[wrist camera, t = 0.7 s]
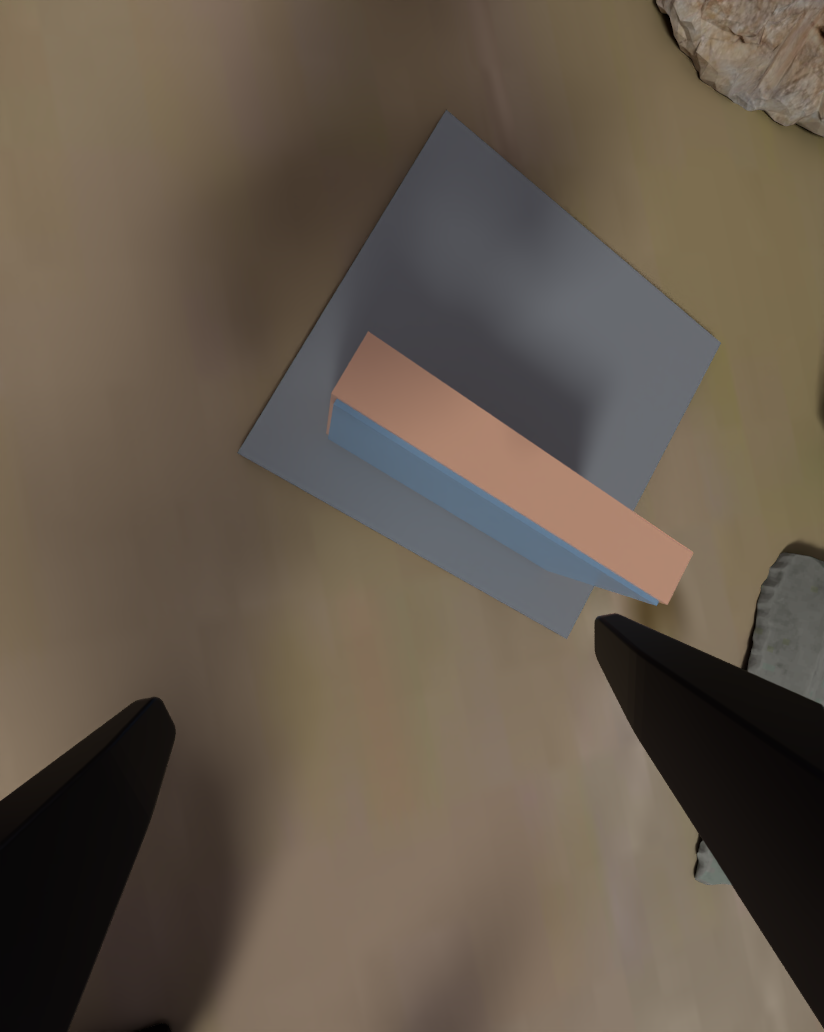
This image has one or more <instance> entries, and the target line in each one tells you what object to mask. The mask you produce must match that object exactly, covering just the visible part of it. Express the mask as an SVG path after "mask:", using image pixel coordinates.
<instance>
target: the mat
mask: <svg viewBox="0 0 824 1032" xmlns="http://www.w3.org/2000/svg"><path fill="white" fill-rule="evenodd" d="M368 331H369V332H370V333H371V334H373V335H374V336H376V337H377V338H379V339H380V340H382V341H383V342H385V343H386V344H388V345H389V346H391V347H392V348H394V349H395V350H397V351H398V352H399V353H401V354H402V355H404V356H405V357H407V358H408V359H410V360H411V361H413V362H414V363H416V364H417V365H419V366H420V367H422V368H423V369H424V370H426V371H427V372H429V373H430V374H432V375H433V376H435V377H436V378H438V379H439V380H441V381H442V382H444V383H445V384H447V385H448V386H449V387H451V388H452V389H454V390H455V391H457V392H458V393H460V394H461V395H463V396H464V397H466V398H467V399H469V400H470V401H472V402H473V403H474V404H476V405H477V406H479V407H480V408H482V409H483V410H485V411H486V412H488V413H489V414H491V415H492V416H494V417H495V418H497V419H498V420H499V421H501V422H502V423H504V424H505V425H507V426H508V427H510V428H511V429H513V430H514V431H516V432H517V433H519V434H520V435H522V436H523V437H524V438H526V439H527V440H529V441H530V442H532V443H533V444H535V445H536V446H538V447H539V448H541V449H542V450H544V451H545V452H547V453H548V454H549V455H551V456H552V457H554V458H555V459H557V460H558V461H560V462H561V463H563V464H564V465H566V466H567V467H569V468H570V469H572V470H573V471H574V472H576V473H577V474H579V475H580V476H582V477H583V478H585V479H586V480H588V481H589V482H591V483H592V484H594V485H595V486H597V487H598V488H599V489H601V490H602V491H604V492H605V493H607V494H608V495H610V496H611V497H613V498H614V499H616V500H617V501H619V502H620V503H622V504H623V505H624V506H626V507H627V508H629V509H630V510H632V511H634V509H635V507H636V505H637V503H638V501H639V499H640V497H641V495H642V494H643V492H644V490H645V488H646V486H647V484H648V482H649V480H650V478H651V476H652V474H653V472H654V470H655V469H656V467H657V465H658V463H659V461H660V459H661V457H662V455H663V453H664V451H665V449H666V447H667V446H668V444H669V442H670V440H671V438H672V436H673V434H674V432H675V430H676V428H677V426H678V424H679V422H680V421H681V419H682V417H683V415H684V413H685V411H686V409H687V407H688V405H689V403H690V401H691V399H692V398H693V396H694V394H695V392H696V390H697V388H698V386H699V384H700V382H701V380H702V378H703V376H704V374H705V373H706V371H707V369H708V367H709V365H710V363H711V361H712V359H713V357H714V355H715V353H716V351H717V350H718V348H719V346H720V344H721V343H720V342H719V341H718V340H717V339H716V338H715V337H713V336H712V335H711V334H710V333H709V332H707V331H706V330H705V329H704V328H703V327H702V326H700V325H699V324H698V323H697V322H696V321H695V320H693V319H692V318H691V317H690V316H689V315H687V314H686V313H685V312H684V311H683V310H682V309H680V308H679V307H678V306H677V305H676V304H675V303H673V302H672V301H671V300H670V299H669V298H667V297H666V296H665V295H664V294H663V293H662V292H660V291H659V290H658V289H657V288H656V287H655V286H653V285H652V284H651V283H650V282H649V281H647V280H646V279H645V278H644V277H643V276H642V275H640V274H639V273H638V272H637V271H636V270H634V269H633V268H632V267H631V266H630V265H629V264H627V263H626V262H625V261H624V260H623V259H622V258H620V257H619V256H618V255H617V254H616V253H614V252H613V251H612V250H611V249H610V248H609V247H607V246H606V245H605V244H604V243H603V242H602V241H600V240H599V239H598V238H597V237H596V236H594V235H593V234H592V233H591V232H590V231H589V230H587V229H586V228H585V227H584V226H583V225H582V224H580V223H579V222H578V221H577V220H576V219H574V218H573V217H572V216H571V215H570V214H569V213H567V212H566V211H565V210H564V209H563V208H562V207H560V206H559V205H558V204H557V203H556V202H554V201H553V200H552V199H551V198H550V197H549V196H547V195H546V194H545V193H544V192H543V191H541V190H540V189H539V188H538V187H537V186H536V185H534V184H533V183H532V182H531V181H530V180H529V179H527V178H526V177H525V176H524V175H523V174H521V173H520V172H519V171H518V170H517V169H516V168H514V167H513V166H512V165H511V164H510V163H509V162H507V161H506V160H505V159H504V158H503V157H501V156H500V155H499V154H498V153H497V152H496V151H494V150H493V149H492V148H491V147H490V146H489V145H487V144H486V143H485V142H484V141H483V140H481V139H480V138H479V137H478V136H477V135H476V134H474V133H473V132H472V131H471V130H470V129H469V128H467V127H466V126H465V125H464V124H463V123H461V122H460V121H459V120H458V119H457V118H456V117H454V116H453V115H452V114H451V113H450V112H448V111H447V110H446V111H445V113H444V114H443V116H442V118H441V119H440V121H439V122H438V124H437V126H436V127H435V129H434V131H433V132H432V134H431V136H430V137H429V139H428V141H427V142H426V144H425V145H424V147H423V149H422V150H421V152H420V154H419V155H418V157H417V159H416V160H415V162H414V164H413V165H412V167H411V168H410V170H409V172H408V173H407V175H406V177H405V178H404V180H403V182H402V183H401V185H400V187H399V188H398V190H397V192H396V193H395V195H394V196H393V198H392V200H391V201H390V203H389V205H388V206H387V208H386V210H385V211H384V213H383V215H382V216H381V218H380V219H379V221H378V223H377V224H376V226H375V228H374V229H373V231H372V233H371V234H370V236H369V238H368V239H367V241H366V242H365V244H364V246H363V247H362V249H361V251H360V252H359V254H358V256H357V257H356V259H355V261H354V262H353V264H352V266H351V267H350V269H349V270H348V272H347V274H346V275H345V277H344V279H343V280H342V282H341V284H340V285H339V287H338V289H337V290H336V292H335V293H334V295H333V297H332V298H331V300H330V302H329V303H328V305H327V307H326V308H325V310H324V312H323V313H322V315H321V316H320V318H319V320H318V321H317V323H316V325H315V326H314V328H313V330H312V331H311V333H310V335H309V336H308V338H307V339H306V341H305V343H304V344H303V346H302V348H301V349H300V351H299V353H298V354H297V356H296V358H295V359H294V361H293V363H292V364H291V366H290V367H289V369H288V371H287V372H286V374H285V376H284V377H283V379H282V381H281V382H280V384H279V386H278V387H277V389H276V390H275V392H274V394H273V395H272V397H271V399H270V400H269V402H268V404H267V405H266V407H265V409H264V410H263V412H262V413H261V415H260V417H259V418H258V420H257V422H256V423H255V425H254V427H253V428H252V430H251V432H250V433H249V435H248V436H247V438H246V440H245V441H244V443H243V445H242V446H241V448H240V450H239V451H238V454H240V455H242V456H244V457H246V458H247V459H249V460H251V461H253V462H254V463H256V464H258V465H260V466H261V467H263V468H265V469H267V470H269V471H270V472H272V473H274V474H276V475H277V476H279V477H281V478H283V479H284V480H286V481H288V482H290V483H292V484H293V485H295V486H297V487H299V488H300V489H302V490H304V491H306V492H307V493H309V494H311V495H313V496H315V497H316V498H318V499H320V500H322V501H323V502H325V503H327V504H329V505H330V506H332V507H334V508H336V509H338V510H339V511H341V512H343V513H345V514H346V515H348V516H350V517H352V518H354V519H355V520H357V521H359V522H361V523H362V524H364V525H366V526H368V527H369V528H371V529H373V530H375V531H377V532H378V533H380V534H382V535H384V536H385V537H387V538H389V539H391V540H392V541H394V542H396V543H398V544H400V545H401V546H403V547H405V548H407V549H408V550H410V551H412V552H414V553H415V554H417V555H419V556H421V557H423V558H424V559H426V560H428V561H430V562H431V563H433V564H435V565H437V566H438V567H440V568H442V569H444V570H446V571H447V572H449V573H451V574H453V575H454V576H456V577H458V578H460V579H462V580H463V581H465V582H467V583H469V584H470V585H472V586H474V587H476V588H477V589H479V590H481V591H483V592H485V593H486V594H488V595H490V596H492V597H493V598H495V599H497V600H499V601H500V602H502V603H504V604H506V605H508V606H509V607H511V608H513V609H515V610H516V611H518V612H520V613H522V614H523V615H525V616H527V617H529V618H531V619H532V620H534V621H536V622H538V623H539V624H541V625H543V626H545V627H546V628H548V629H550V630H552V631H554V632H555V633H557V634H559V635H561V636H562V637H564V638H566V639H567V638H568V636H569V634H570V632H571V630H572V628H573V626H574V624H575V622H576V620H577V618H578V616H579V614H580V613H581V611H582V609H583V607H584V605H585V603H586V601H587V599H588V597H589V595H590V593H591V591H592V590H593V588H594V586H593V585H590V584H587V583H584V582H580V581H577V580H574V579H571V578H568V577H565V576H562V575H558V574H555V573H552V572H549V571H546V570H545V569H543V568H541V567H540V566H538V565H536V564H535V563H533V562H531V561H530V560H528V559H526V558H525V557H523V556H522V555H520V554H518V553H517V552H515V551H513V550H512V549H510V548H508V547H507V546H505V545H503V544H502V543H500V542H498V541H497V540H495V539H493V538H492V537H490V536H488V535H487V534H485V533H483V532H482V531H480V530H478V529H477V528H475V527H473V526H472V525H470V524H468V523H467V522H465V521H463V520H462V519H460V518H458V517H457V516H455V515H453V514H452V513H450V512H448V511H447V510H445V509H443V508H442V507H440V506H439V505H437V504H435V503H434V502H432V501H430V500H429V499H427V498H425V497H424V496H422V495H420V494H419V493H417V492H415V491H414V490H412V489H410V488H409V487H407V486H405V485H404V484H402V483H400V482H399V481H397V480H395V479H394V478H392V477H390V476H389V475H387V474H385V473H384V472H382V471H380V470H379V469H377V468H375V467H374V466H372V465H370V464H369V463H367V462H365V461H364V460H362V459H360V458H359V457H357V456H355V455H354V454H352V453H351V452H349V451H347V450H346V449H344V448H342V447H341V446H339V445H337V444H336V443H334V442H332V441H331V440H329V439H328V434H326V431H327V423H328V415H329V407H330V399H331V393H332V391H333V389H334V388H335V386H336V384H337V383H338V381H339V379H340V378H341V376H342V374H343V373H344V371H345V369H346V368H347V366H348V364H349V363H350V361H351V359H352V358H353V356H354V354H355V352H356V351H357V349H358V347H359V346H360V344H361V342H362V341H363V339H364V337H365V336H366V334H367V332H368Z"/></svg>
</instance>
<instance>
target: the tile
mask: <svg viewBox="0 0 824 1032" xmlns="http://www.w3.org/2000/svg"><path fill="white" fill-rule="evenodd" d="M326 434H328V439H329V440H331V441H332V442H334V443H336V444H337V445H339V446H341V447H342V448H344V449H346V450H347V451H349V452H351V453H352V454H354V455H355V456H357V457H359V458H360V459H362V460H364V461H365V462H367V463H369V464H370V465H372V466H374V467H375V468H377V469H379V470H380V471H382V472H384V473H385V474H387V475H389V476H390V477H392V478H394V479H395V480H397V481H399V482H400V483H402V484H404V485H405V486H407V487H409V488H410V489H412V490H414V491H415V492H417V493H419V494H420V495H422V496H424V497H425V498H427V499H429V500H430V501H432V502H434V503H435V504H437V505H439V506H440V507H442V508H443V509H445V510H447V511H448V512H450V513H452V514H453V515H455V516H457V517H458V518H460V519H462V520H463V521H465V522H467V523H468V524H470V525H472V526H473V527H475V528H477V529H478V530H480V531H482V532H483V533H485V534H487V535H488V536H490V537H492V538H493V539H495V540H497V541H498V542H500V543H502V544H503V545H505V546H507V547H508V548H510V549H512V550H513V551H515V552H517V553H518V554H520V555H522V556H523V557H525V558H526V559H528V560H530V561H531V562H533V563H535V564H536V565H538V566H540V567H541V568H543V569H545V570H546V571H549V572H552V573H555V574H558V575H562V576H565V577H568V578H571V579H574V580H577V581H580V582H584V583H587V584H590V585H593V586H596V587H599V588H602V589H606V590H609V591H612V592H615V593H618V594H621V595H624V596H628V597H631V598H634V599H637V600H640V601H643V602H646V603H649V604H653V605H656V606H657V604H658V602H660V603H663V604H666V605H667V604H668V602H669V600H670V599H671V597H672V595H673V593H674V591H675V589H676V587H677V585H678V583H679V581H680V579H681V577H682V575H683V573H684V571H685V569H686V567H687V565H688V563H689V561H690V559H691V557H692V555H693V553H694V552H692V551H691V550H689V549H688V548H686V547H685V546H683V545H682V544H680V543H679V542H677V541H676V540H674V539H673V538H672V537H670V536H669V535H667V534H666V533H664V532H663V531H661V530H660V529H658V528H657V527H655V526H654V525H652V524H651V523H649V522H648V521H647V520H645V519H644V518H642V517H641V516H639V515H638V514H636V513H635V512H633V511H632V510H630V509H629V508H627V507H626V506H624V505H623V504H622V503H620V502H619V501H617V500H616V499H614V498H613V497H611V496H610V495H608V494H607V493H605V492H604V491H602V490H601V489H599V488H598V487H597V486H595V485H594V484H592V483H591V482H589V481H588V480H586V479H585V478H583V477H582V476H580V475H579V474H577V473H576V472H574V471H573V470H572V469H570V468H569V467H567V466H566V465H564V464H563V463H561V462H560V461H558V460H557V459H555V458H554V457H552V456H551V455H549V454H548V453H547V452H545V451H544V450H542V449H541V448H539V447H538V446H536V445H535V444H533V443H532V442H530V441H529V440H527V439H526V438H524V437H523V436H522V435H520V434H519V433H517V432H516V431H514V430H513V429H511V428H510V427H508V426H507V425H505V424H504V423H502V422H501V421H499V420H498V419H497V418H495V417H494V416H492V415H491V414H489V413H488V412H486V411H485V410H483V409H482V408H480V407H479V406H477V405H476V404H474V403H473V402H472V401H470V400H469V399H467V398H466V397H464V396H463V395H461V394H460V393H458V392H457V391H455V390H454V389H452V388H451V387H449V386H448V385H447V384H445V383H444V382H442V381H441V380H439V379H438V378H436V377H435V376H433V375H432V374H430V373H429V372H427V371H426V370H424V369H423V368H422V367H420V366H419V365H417V364H416V363H414V362H413V361H411V360H410V359H408V358H407V357H405V356H404V355H402V354H401V353H399V352H398V351H397V350H395V349H394V348H392V347H391V346H389V345H388V344H386V343H385V342H383V341H382V340H380V339H379V338H377V337H376V336H374V335H373V334H371V333H370V332H369V331H368V332H367V334H366V336H365V337H364V339H363V341H362V342H361V344H360V346H359V347H358V349H357V351H356V352H355V354H354V356H353V358H352V359H351V361H350V363H349V364H348V366H347V368H346V369H345V371H344V373H343V374H342V376H341V378H340V379H339V381H338V383H337V384H336V386H335V388H334V389H333V391H332V393H331V399H330V407H329V415H328V423H327V431H326Z"/></svg>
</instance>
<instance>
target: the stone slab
mask: <svg viewBox="0 0 824 1032" xmlns="http://www.w3.org/2000/svg"><path fill="white" fill-rule="evenodd" d="M747 671H748V672H750V673H752V674H755V675H757V676H759V677H761V678H764V679H766V680H768V681H770V682H773V683H775V684H777V685H779V686H782V687H784V688H786V689H788V690H791V691H793V692H795V693H797V694H800V695H802V696H804V697H806V698H809V699H811V700H813V701H815V702H818V703H820V704H822V705H823V707H824V561H820V560H818V559H816V558H814V557H811V556H805V555H798V554H792V553H781V554H780V555H779V557H778V558H777V560H776V562H775V563H774V564H773V565H772V566H771V567H770V570H769V575H768V577H767V579H766V580H765V581H764V583H763V584H762V585H761V592H760V597H759V599H758V603H757V616H756V626H755V630H754V634H753V647H752V650H751V655H750V658H749V662H748V668H747ZM697 857H698V859H699V862H698V866H697V871H696V875H695V880H697V881H699V882H701V883H704V884H707V885H714V884H728V885H731V883H730V881H729V880H728V878H727V877H726V875H725V874H724V872H723V871H722V869H721V867H720V866H719V864H718V863H717V861H716V860H715V858H714V856H713V855H712V853H711V852H710V850H709V849H708V847H707V846H706V844H705V842H704V841H702V842H701V844H700V848H699V852H698V853H697Z"/></svg>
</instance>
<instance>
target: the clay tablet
mask: <svg viewBox="0 0 824 1032" xmlns="http://www.w3.org/2000/svg"><path fill="white" fill-rule="evenodd" d="M656 4H657V5H658V7H659V9H660V11H661V13H666V14H668V15H669V16H670V20H671V24H672V28H673V33H674V36H675V38H676V40H677V42H678V44H679V47H680V50H681V51H683V52H684V53H685V54H686V55H687V56H689V57H690V58H691V59H692V61H693V64H694V66H695V69H696V70H697V71H698V72H699V75H700V79H701V80H702V81H703V82H704V83H706V84H708V85H709V86H711V87H712V88H714V89H715V90H716V91H718V92H719V93H721V94H723V95H725V96H727V97H728V98H730V99H731V100H732V101H733V102H734V103H736V104H738V105H740V106H741V107H743V108H744V109H746V110H748V111H753V110H763V111H765V112H766V113H767V114H768V115H769V116H770V117H771V118H772V119H773V120H774V121H776V122H778V123H780V124H782V125H784V126H789V125H793V124H795V123H796V124H798V125H800V126H802V127H804V128H806V129H808V130H809V131H811V132H813V133H815V134H817V135H820V136H823V137H824V0H656Z"/></svg>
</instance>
